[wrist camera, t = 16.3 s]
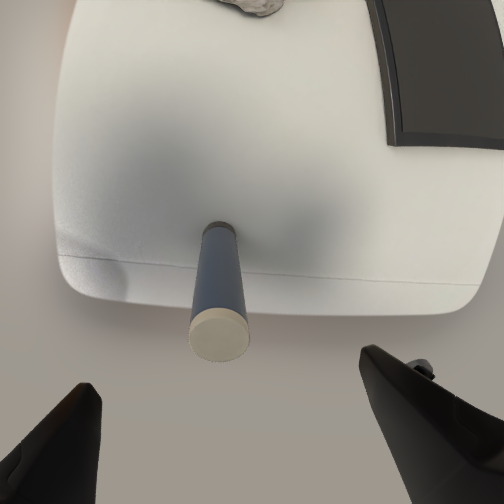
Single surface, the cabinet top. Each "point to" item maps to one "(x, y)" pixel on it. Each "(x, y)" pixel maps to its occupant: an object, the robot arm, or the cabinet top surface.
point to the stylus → (219, 298)
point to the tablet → (440, 72)
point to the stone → (258, 5)
